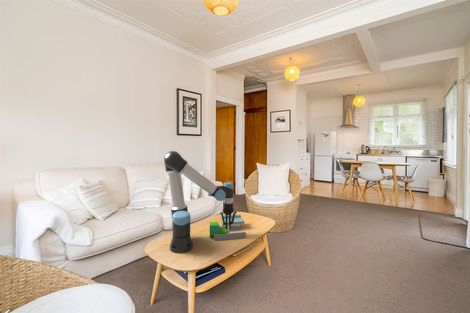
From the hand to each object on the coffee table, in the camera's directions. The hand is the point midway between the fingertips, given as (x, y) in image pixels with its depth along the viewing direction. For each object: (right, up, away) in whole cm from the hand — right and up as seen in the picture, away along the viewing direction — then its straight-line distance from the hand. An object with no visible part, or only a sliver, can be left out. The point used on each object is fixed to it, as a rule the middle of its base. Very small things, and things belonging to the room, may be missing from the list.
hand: (228, 233), depth 175 cm
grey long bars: (0, -1, 0) cm, 1 cm away
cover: (+3, 0, +16) cm, 16 cm away
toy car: (-7, -2, -3) cm, 8 cm away
